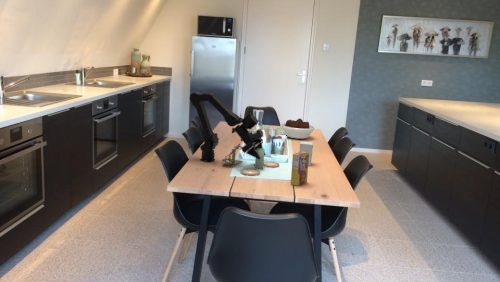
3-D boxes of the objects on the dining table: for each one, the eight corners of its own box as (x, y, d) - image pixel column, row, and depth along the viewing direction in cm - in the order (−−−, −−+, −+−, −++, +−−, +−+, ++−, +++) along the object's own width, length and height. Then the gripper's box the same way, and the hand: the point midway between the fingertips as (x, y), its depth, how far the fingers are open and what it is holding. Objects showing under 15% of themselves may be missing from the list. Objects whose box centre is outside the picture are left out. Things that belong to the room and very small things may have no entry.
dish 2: (258, 165, 233) (258, 163, 232) (265, 161, 241) (266, 160, 241) (275, 168, 228) (275, 167, 228) (281, 164, 237) (282, 163, 237)
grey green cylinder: (253, 168, 225) (254, 149, 223) (257, 167, 229) (258, 147, 227) (261, 170, 223) (262, 150, 221) (264, 168, 227) (266, 148, 225)
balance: (219, 166, 225) (220, 147, 223) (236, 159, 242) (237, 141, 240) (229, 168, 223) (230, 149, 221) (245, 161, 240) (246, 143, 238)
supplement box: (310, 166, 239) (312, 144, 236) (297, 164, 240) (299, 143, 237) (311, 163, 246) (313, 142, 243) (298, 161, 247) (300, 141, 245)
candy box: (299, 180, 209) (302, 151, 206) (307, 182, 206) (310, 152, 203) (289, 184, 202) (292, 153, 199) (297, 186, 199) (300, 155, 196)
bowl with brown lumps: (315, 142, 308) (317, 122, 305) (281, 140, 308) (283, 120, 305) (310, 136, 333) (312, 117, 330) (279, 133, 333) (281, 115, 330)
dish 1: (237, 173, 214) (237, 171, 214) (245, 169, 223) (246, 167, 223) (254, 177, 210) (254, 175, 210) (262, 172, 219) (263, 171, 218)
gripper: (249, 127, 214) (268, 151, 213) (260, 123, 231) (278, 145, 230) (234, 140, 218) (252, 164, 217) (246, 135, 235) (263, 156, 234)
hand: (262, 157), depth 224 cm, fingers open, 9 cm apart
